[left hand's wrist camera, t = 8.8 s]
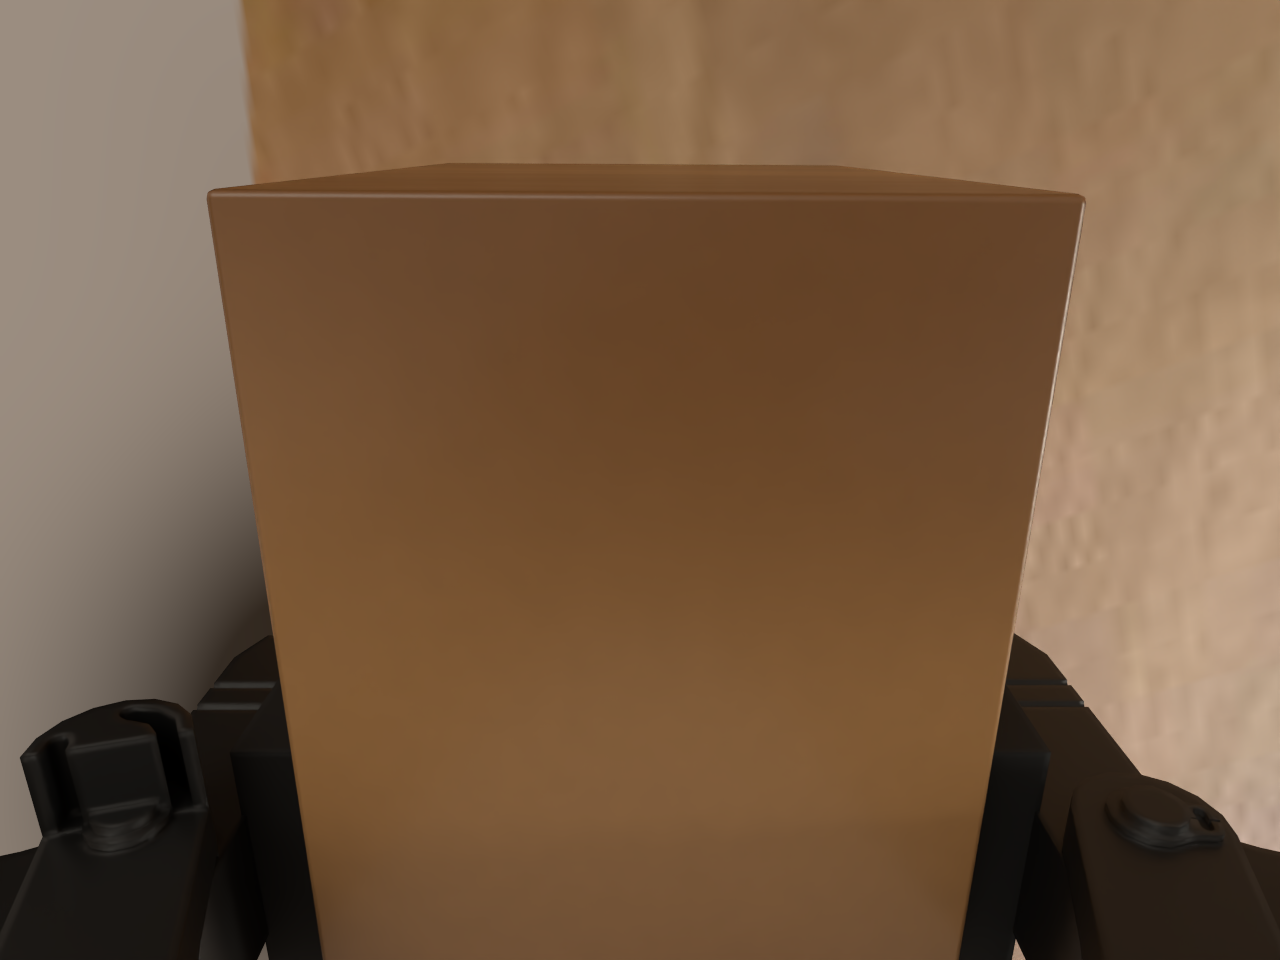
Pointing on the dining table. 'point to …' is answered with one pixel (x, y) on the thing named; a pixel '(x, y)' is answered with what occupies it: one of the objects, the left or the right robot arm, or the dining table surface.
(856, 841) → the bar
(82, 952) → the left robot arm
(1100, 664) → the dining table surface
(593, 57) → the dining table surface
